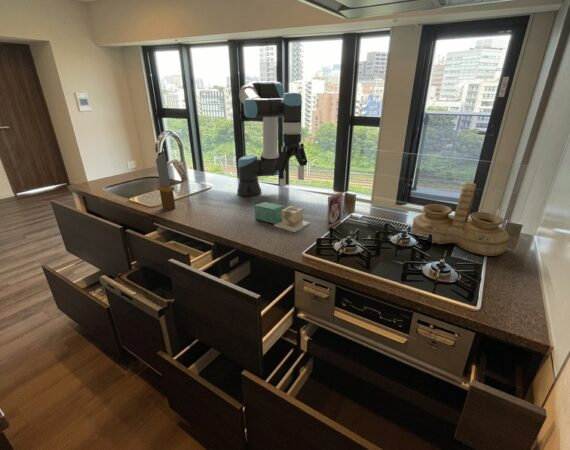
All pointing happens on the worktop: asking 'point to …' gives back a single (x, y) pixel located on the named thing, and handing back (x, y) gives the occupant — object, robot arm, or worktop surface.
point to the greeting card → (334, 209)
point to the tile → (292, 227)
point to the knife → (165, 183)
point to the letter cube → (292, 216)
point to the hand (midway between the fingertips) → (292, 182)
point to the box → (269, 212)
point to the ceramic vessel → (463, 226)
